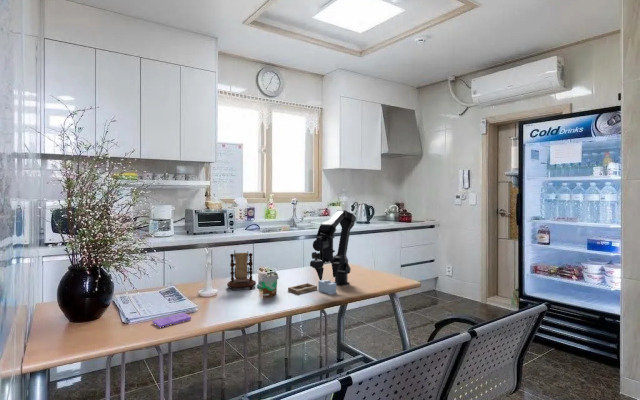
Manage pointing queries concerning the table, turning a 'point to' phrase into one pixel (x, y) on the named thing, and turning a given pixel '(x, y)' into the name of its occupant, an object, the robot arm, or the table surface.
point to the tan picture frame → (302, 288)
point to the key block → (327, 286)
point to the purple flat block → (172, 319)
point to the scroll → (241, 272)
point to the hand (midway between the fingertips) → (327, 278)
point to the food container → (270, 284)
